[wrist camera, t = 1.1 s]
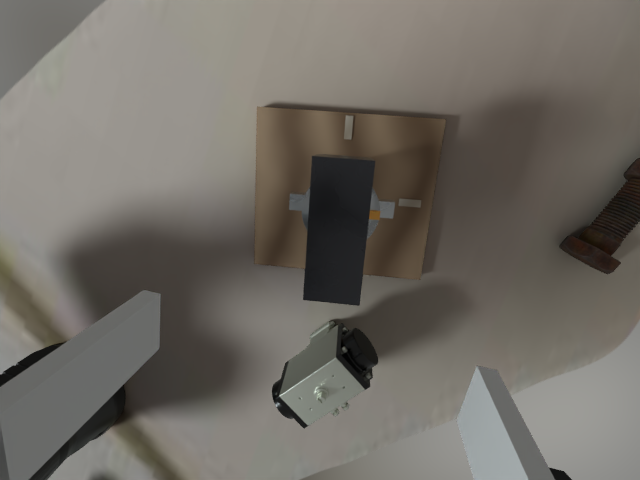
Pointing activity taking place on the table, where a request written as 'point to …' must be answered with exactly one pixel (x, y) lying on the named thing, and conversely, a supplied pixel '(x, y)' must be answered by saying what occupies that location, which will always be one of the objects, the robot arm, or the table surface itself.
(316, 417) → the pneumatic valve
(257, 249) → the base
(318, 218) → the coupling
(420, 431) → the table surface
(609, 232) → the bolt
